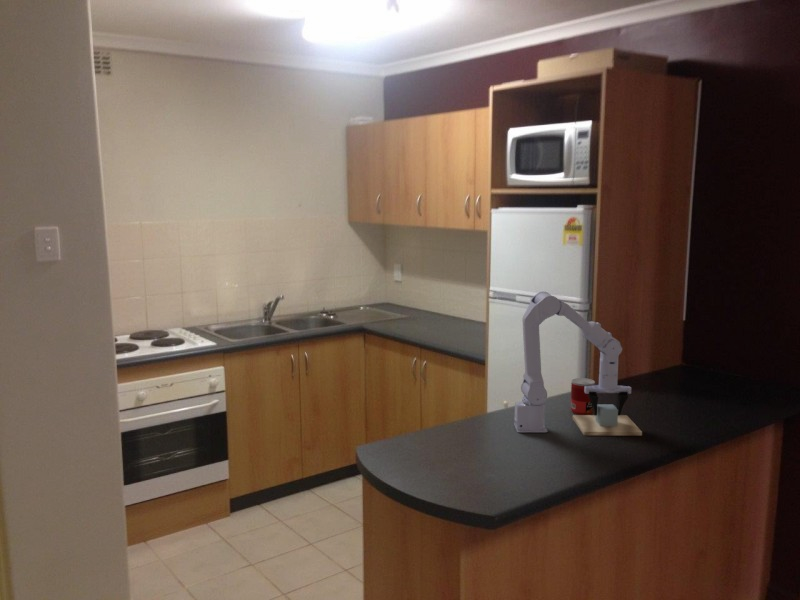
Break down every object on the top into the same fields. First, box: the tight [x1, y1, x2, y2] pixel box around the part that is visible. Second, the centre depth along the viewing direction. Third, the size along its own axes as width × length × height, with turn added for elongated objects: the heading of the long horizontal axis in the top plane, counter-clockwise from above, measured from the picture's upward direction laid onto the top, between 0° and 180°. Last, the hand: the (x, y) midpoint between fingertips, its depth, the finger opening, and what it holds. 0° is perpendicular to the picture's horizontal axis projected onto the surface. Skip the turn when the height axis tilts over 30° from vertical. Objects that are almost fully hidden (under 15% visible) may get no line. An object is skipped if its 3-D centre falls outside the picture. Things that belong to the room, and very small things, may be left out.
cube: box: [595, 403, 618, 426], centre depth 229 cm, size 6×6×6 cm
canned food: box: [570, 377, 596, 415], centre depth 244 cm, size 8×8×11 cm
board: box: [572, 414, 643, 437], centre depth 230 cm, size 18×16×1 cm
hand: (606, 414), depth 229 cm, fingers open, 7 cm apart
